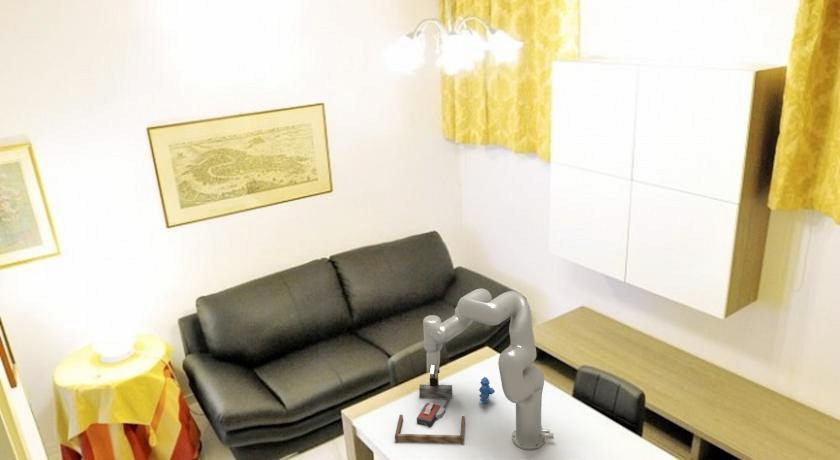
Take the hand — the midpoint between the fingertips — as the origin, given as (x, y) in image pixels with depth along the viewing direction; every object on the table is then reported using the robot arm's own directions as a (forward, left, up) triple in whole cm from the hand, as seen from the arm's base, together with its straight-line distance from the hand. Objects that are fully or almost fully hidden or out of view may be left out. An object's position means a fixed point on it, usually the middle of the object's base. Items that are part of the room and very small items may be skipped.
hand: (434, 379), depth 263 cm
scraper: (0, 0, -9) cm, 9 cm away
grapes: (-22, +4, -9) cm, 24 cm away
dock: (0, +24, -8) cm, 25 cm away
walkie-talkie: (0, +12, -9) cm, 15 cm away
